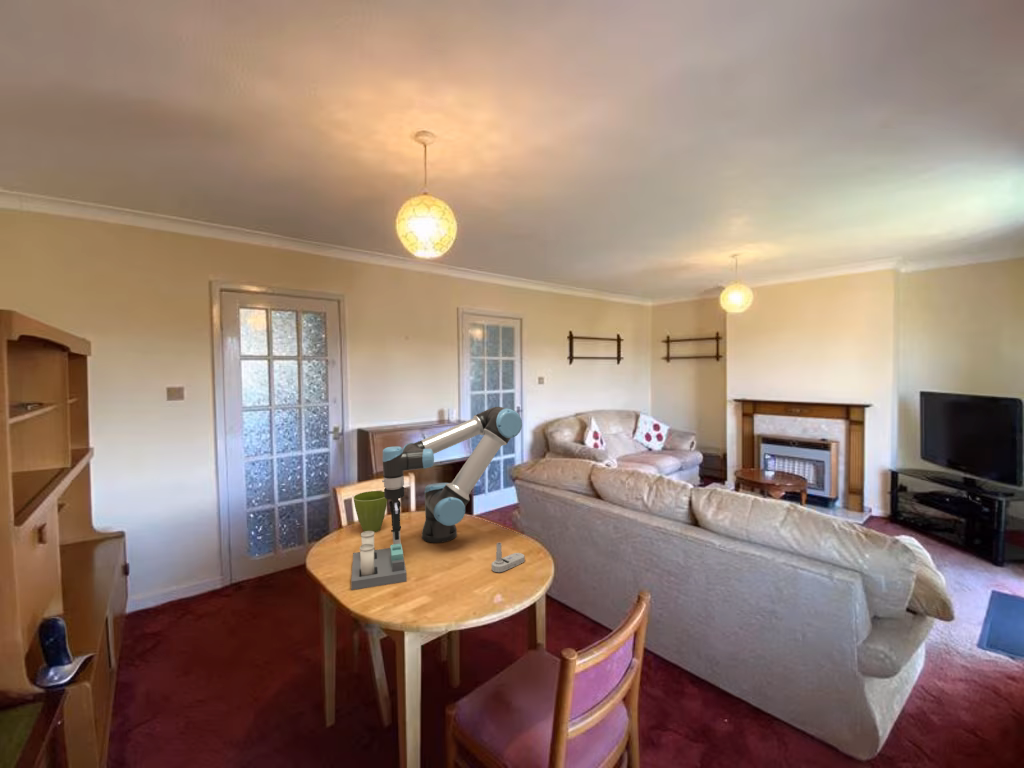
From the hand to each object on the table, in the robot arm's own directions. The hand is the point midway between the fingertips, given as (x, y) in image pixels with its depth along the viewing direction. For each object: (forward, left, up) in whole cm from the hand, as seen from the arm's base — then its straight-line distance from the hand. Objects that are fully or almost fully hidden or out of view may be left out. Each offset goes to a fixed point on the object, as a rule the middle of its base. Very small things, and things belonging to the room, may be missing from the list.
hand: (397, 546), depth 175 cm
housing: (+7, +10, -4) cm, 13 cm away
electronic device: (-39, +22, -5) cm, 45 cm away
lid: (+1, +11, -1) cm, 11 cm away
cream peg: (+11, +16, -4) cm, 20 cm away
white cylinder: (+11, +3, -4) cm, 12 cm away
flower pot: (+9, -33, -4) cm, 35 cm away
